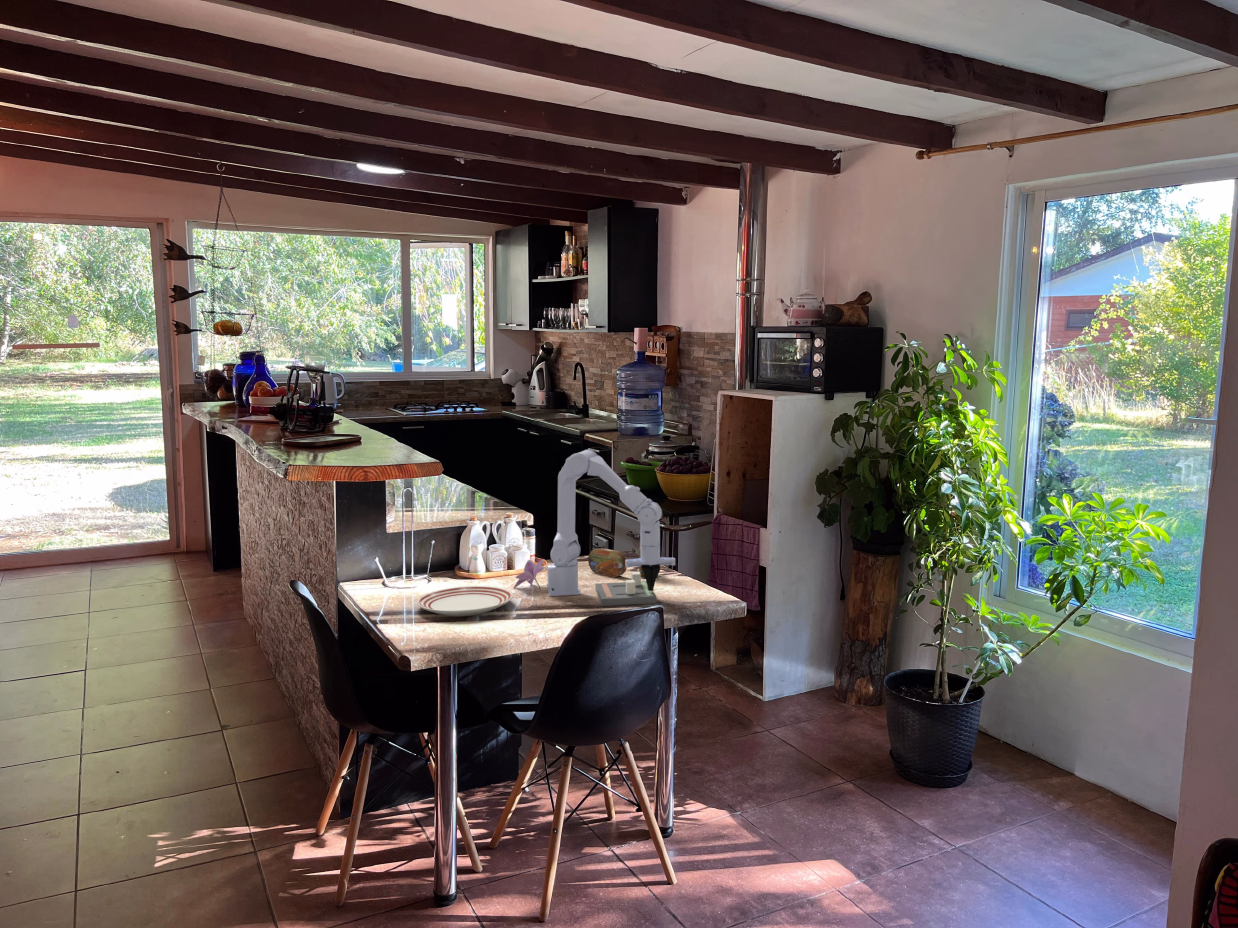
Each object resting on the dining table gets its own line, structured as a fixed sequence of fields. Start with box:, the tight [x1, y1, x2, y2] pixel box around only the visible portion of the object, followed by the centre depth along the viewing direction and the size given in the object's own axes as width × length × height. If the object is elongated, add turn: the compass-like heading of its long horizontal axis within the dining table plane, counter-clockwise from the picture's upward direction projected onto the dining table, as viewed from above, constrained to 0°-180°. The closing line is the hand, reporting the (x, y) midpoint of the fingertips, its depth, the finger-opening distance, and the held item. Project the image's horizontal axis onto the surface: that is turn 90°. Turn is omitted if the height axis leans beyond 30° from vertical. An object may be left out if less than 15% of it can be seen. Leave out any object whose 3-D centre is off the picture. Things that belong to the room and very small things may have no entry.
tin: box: [587, 547, 628, 578], centre depth 301 cm, size 15×3×8 cm, turn 50°
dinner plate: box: [416, 585, 514, 617], centre depth 267 cm, size 27×27×3 cm
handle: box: [630, 571, 642, 586], centre depth 280 cm, size 2×3×4 cm
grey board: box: [594, 580, 657, 607], centre depth 276 cm, size 16×17×2 cm
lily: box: [513, 558, 547, 591], centre depth 286 cm, size 12×12×10 cm
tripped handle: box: [625, 579, 635, 594], centre depth 271 cm, size 2×3×4 cm
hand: (650, 589), depth 272 cm, fingers closed
